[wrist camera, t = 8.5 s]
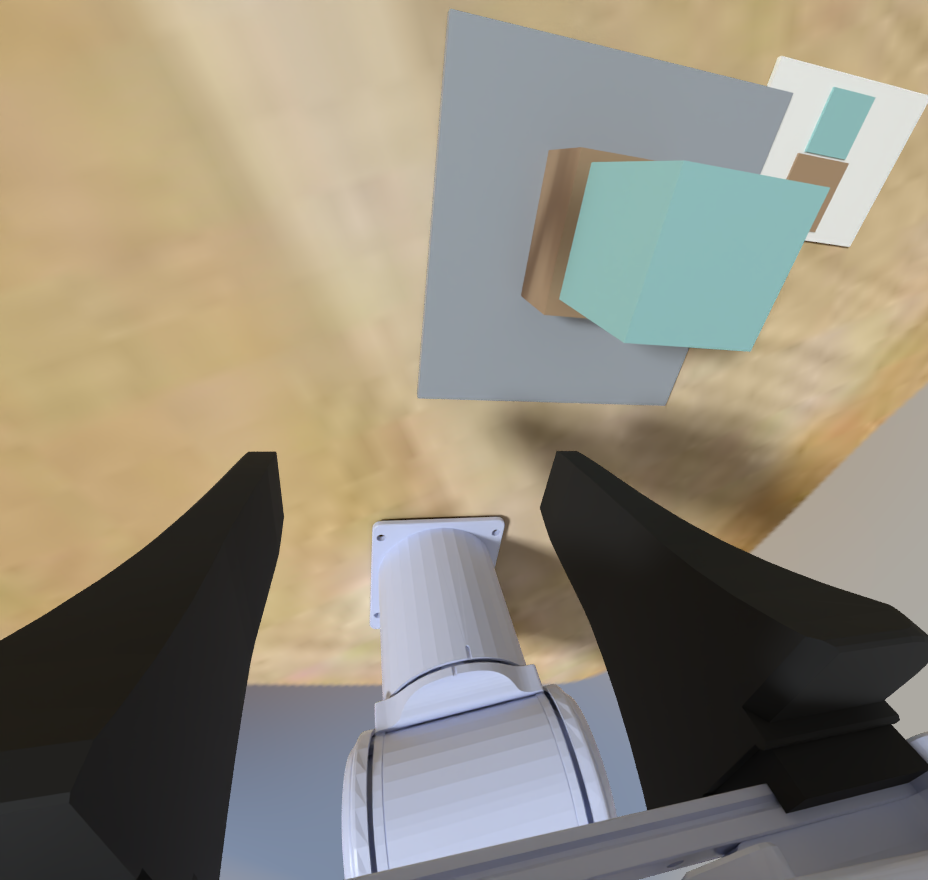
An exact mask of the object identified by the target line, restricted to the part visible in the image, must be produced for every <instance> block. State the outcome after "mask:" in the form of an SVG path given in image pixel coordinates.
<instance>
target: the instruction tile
mask: <svg viewBox="0 0 928 880" xmlns="http://www.w3.org/2000/svg"><path fill="white" fill-rule="evenodd" d="M767 87H771V88H775V89H779V90H783V91H788V92H792V93H793V96H792V98H791V101H790V103H789V105H788V108H787V110H786V113H785V115H784V118H783V120H782V122H781V125H780V127H779V130H778V132H777V135H776V137H775V140H774V142H773V144H772V147H771V149H770V152H769V154H768V157H767V159H766V161H765V164H764V166H763V169H762V171H761V174H760V175H765V176H771V177H776V178H781V179H787V180H792V181H797V182H803V183H808V184H814V185H819V186H824V187H830V190H829V192H828V194H827V196H826V198H825V200H824V202H823V204H822V206H821V208H820V210H819V212H818V214H817V216H816V218H815V220H814V222H813V224H812V226H811V229H810V231H809V233H808V235H807V237H806V239H805V240H806V241H813V242H819V243H826V244H833V245H840V246H847V247H850V245H851V244H852V242H853V240H854V238H855V236H856V234H857V232H858V231H859V229H860V227H861V225H862V223H863V221H864V220H865V218H866V216H867V214H868V212H869V210H870V208H871V207H872V205H873V203H874V201H875V199H876V197H877V195H878V194H879V192H880V190H881V188H882V186H883V184H884V183H885V181H886V179H887V177H888V175H889V173H890V171H891V170H892V168H893V166H894V164H895V162H896V160H897V159H898V157H899V155H900V153H901V151H902V149H903V147H904V146H905V144H906V142H907V140H908V138H909V136H910V135H911V133H912V131H913V129H914V127H915V125H916V123H917V122H918V120H919V118H920V116H921V114H922V112H923V111H924V109H925V107H926V105H927V103H928V95H925V94H922V93H918V92H914V91H911V90H907V89H903V88H899V87H896V86H892V85H888V84H884V83H881V82H877V81H873V80H870V79H866V78H862V77H858V76H855V75H851V74H847V73H844V72H840V71H836V70H832V69H829V68H825V67H821V66H818V65H814V64H810V63H806V62H803V61H799V60H795V59H791V58H788V57H784V56H780V57H778V58H777V61H776V64H775V66H774V69H773V72H772V74H771V77H770V79H769V82H768V85H767Z"/></svg>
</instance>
